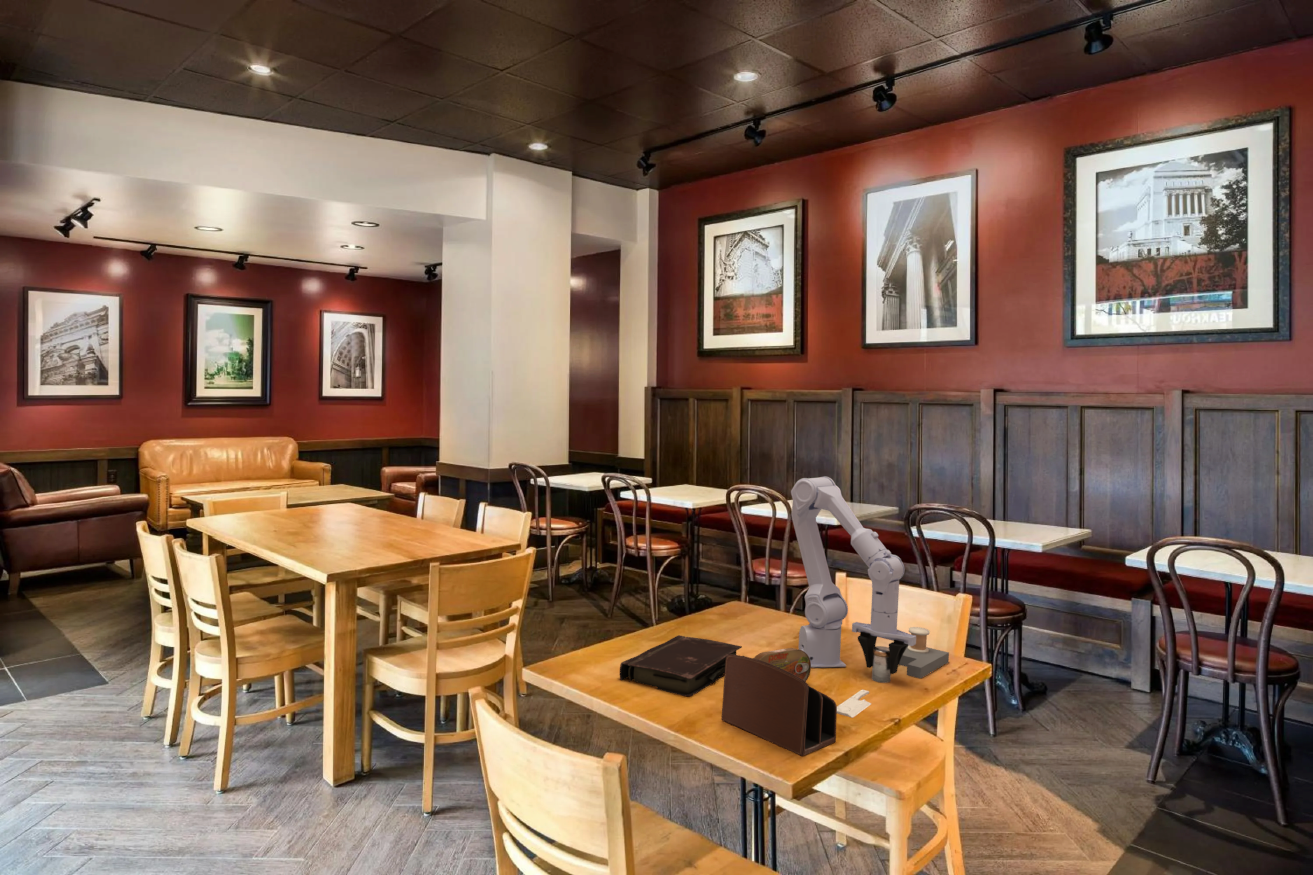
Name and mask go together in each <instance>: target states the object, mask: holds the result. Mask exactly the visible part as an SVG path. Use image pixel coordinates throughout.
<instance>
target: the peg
mask: <svg viewBox="0 0 1313 875" xmlns="http://www.w3.org/2000/svg"><path fill="white" fill-rule="evenodd" d="M888 647H889V646H882V645H875V647H874V648H873V666H872V667H871V668H872V669H871V670H872V672H871V680H872V681H874V682H877V683H883V684H885V683H890V682H891V675H892V674H890V650H889V648H888Z"/></svg>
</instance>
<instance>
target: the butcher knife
mask: <svg viewBox="0 0 1313 875" xmlns="http://www.w3.org/2000/svg"><path fill="white" fill-rule="evenodd" d="M869 694H870V691H869V690H865V689H861V690H859V691H858V692H856V693H855V694H853V695H852V696H850V697H849V698H847V699H846V700H844V701H843V702H842V703H840V704H838V705H837V714H838V715H841V716H845V717H849V718H855V717H856V716H857V715H858V714H860V713H861V712H862V711H864V710H866V708H869V706H871V705H872V702H869V701H867V700H866V699H865V698H864V699H862V698H863V697H865V696H866V695H869ZM861 699H862V700H861Z"/></svg>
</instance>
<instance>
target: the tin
mask: <svg viewBox="0 0 1313 875" xmlns="http://www.w3.org/2000/svg"><path fill="white" fill-rule="evenodd" d="M753 658H754V659H758V660H761V661H764V662H767V663H769V664H772V665H774V666H777V667H779V668H781V669H783V670H786V671H788V672H790V673H792V674H794V675H796V676H797V677H799V678H801V679H803V680H804V681H805V682H806V683H807V681H808V679H809V677H810V675H811V671H812V667H811V662H810V659H809V656H808V655H807V654H806V653H805V652H804V651H802V650H799V648H794V647H787V648H782V649H776V650H775V649H774V650H769V651H763V652H760V653H758V654H756V655H755V656H754V657H753Z"/></svg>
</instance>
